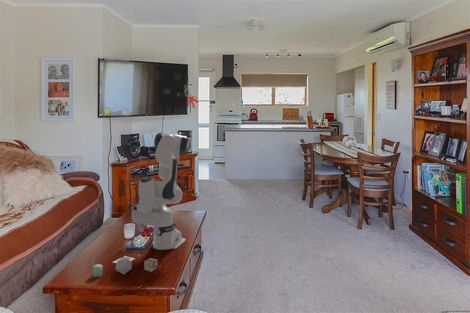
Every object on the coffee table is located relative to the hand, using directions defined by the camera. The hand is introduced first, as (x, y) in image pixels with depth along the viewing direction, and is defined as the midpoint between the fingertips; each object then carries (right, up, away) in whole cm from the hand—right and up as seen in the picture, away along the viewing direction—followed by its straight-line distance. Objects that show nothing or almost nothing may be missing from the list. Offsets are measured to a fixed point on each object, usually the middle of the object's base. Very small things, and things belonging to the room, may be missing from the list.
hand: (148, 232), depth 208 cm
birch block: (+1, -21, +3) cm, 21 cm away
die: (-13, -22, -1) cm, 25 cm away
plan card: (-17, -19, +14) cm, 29 cm away
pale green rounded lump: (-26, -22, -4) cm, 34 cm away
